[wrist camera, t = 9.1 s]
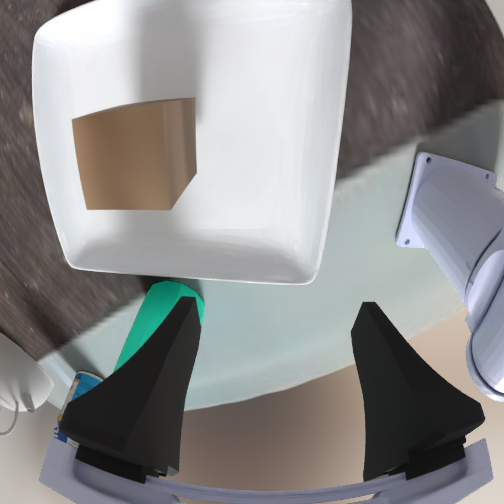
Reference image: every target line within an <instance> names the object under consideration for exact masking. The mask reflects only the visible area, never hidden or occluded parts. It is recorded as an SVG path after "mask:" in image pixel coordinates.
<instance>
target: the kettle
mask: <svg viewBox="0 0 504 504" xmlns="http://www.w3.org/2000/svg"><path fill="white" fill-rule="evenodd" d="M53 386H54V382H53V380H52V379H51V377H50V376H49V375H48V373H47V372H46V371H45V370H44V369H43V368H42V367H41V366H40V365H39V364H38V363H37V362H36V361H35V360H34V359H33V358H32V357H30V356H29V355H28V354H27V353H26V352H25V351H24V350H22V349H21V348H20V347H19V346H18V345H17V344H15V343H14V342H13V341H11V340H10V339H9V338H8V337H6V336H5V335H3V334H2V333H0V404H1V405H3V406H4V407H6V408H9V409H11V410H14V411H15V419H14V421H13V424H12V426H11V427H10V429H9V430H8V431H6V432H4V433H0V436H6V435H9V434H10V433H11V432H12V431H13V430H14V428H15V426H16V423H17V420H18V412H19V411H29V412H31V413H35V412H36V410H35V408H37V407H39V406H40V405H41V404H43V403H44V402H45V400H46V399H47V397H48V396H49V394H50V392H51V390H52V388H53Z"/></svg>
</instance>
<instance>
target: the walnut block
mask: <svg viewBox="0 0 504 504" xmlns="http://www.w3.org/2000/svg"><path fill="white" fill-rule="evenodd" d="M72 129H73V137H74V145H75V152H76V158H77V164H78V170H79V176H80V181H81V186H82V191H83V195H84V200H85V204H86V208H87V210H171V209H172V208H173V206H174V205H175V203H176V202H177V200H178V199H179V197H180V196H181V195H182V193H183V192H184V190H185V189H186V187H187V186H188V185H189V183H190V182H191V181H192V179H193V178H194V176H195V175H196V174H197V160H196V116H195V97H192V98H177V99H165V100H155V101H146V102H139V103H132V104H125V105H120V106H116V107H112V108H108V109H104V110H101V111H97V112H94V113H90V114H87V115H84V116H80V117H77V118H74V119H72Z"/></svg>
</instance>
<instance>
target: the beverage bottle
mask: <svg viewBox="0 0 504 504" xmlns="http://www.w3.org/2000/svg"><path fill="white" fill-rule="evenodd" d="M102 381H103V379H102V378H100V377H98V376H96V375H94V374H92V373H89V372H85V371H79V372H77V374H76V376H75V379H74V381H73V383H72V386H71V388H70V390H69V393H68V395H67V398H66V400H65V403H64V405H63V408H62V410H61V413H60V414H59V416H58V426H57V427H56V428H55V429H54V438H56V439H58V440H60V441H62V442H64V443H66V444H68V445H70V446H73V447H74V448H76V449H78V446H79V444H78V443H76V442H75V441H73V440H72V439H70V438H69V437H67V436H66V435H64V434H63V433H61V432H60V431H59V429H58V427H59V424H60V421H61V419H62V416H63V413H64V410H65V408H66V406H67V404H68V402H70V401H72V400H74V399H76V398H77V397H79V396H81V395H82V394H84V393H86V392H88V391H89V390H91V389H92V388H94V387H95V386H96V385H98V384H99V383H101V382H102Z"/></svg>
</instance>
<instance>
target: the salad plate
mask: <svg viewBox="0 0 504 504" xmlns="http://www.w3.org/2000/svg"><path fill="white" fill-rule="evenodd" d="M351 32H352V3H351V0H94V1H91V2H89V3H86V4H83V5H81V6H78V7H76V8H74V9H71V10H69V11H67V12H64V13H62V14H60V15H58V16H56V17H54V18H52V19H51V20H49V21H48V22H46V23H45V24H44V25H42V26H41V27H40V28H39V30H38V31H37V33H36V35H35V38H34V44H33V56H32V97H33V113H34V123H35V132H36V141H37V148H38V154H39V160H40V165H41V171H42V176H43V181H44V186H45V190H46V194H47V198H48V202H49V206H50V210H51V214H52V217H53V221H54V224H55V228H56V231H57V234H58V237H59V240H60V243H61V246H62V249H63V252H64V255H65V257H66V260H67V262H68V263H69V265H70V266H71V267H73V268H75V269H80V270H89V271H100V272H112V273H124V274H135V275H149V276H163V277H178V278H193V279H205V280H219V281H233V282H245V283H260V284H278V285H305V284H309V283H311V282H312V281H313V280H314V279H315V277H316V275H317V273H318V270H319V267H320V264H321V260H322V256H323V252H324V247H325V242H326V236H327V231H328V225H329V218H330V212H331V206H332V199H333V192H334V184H335V178H336V170H337V161H338V153H339V145H340V137H341V130H342V122H343V114H344V106H345V98H346V87H347V78H348V70H349V58H350V46H351ZM192 97H195V116H196V160H197V174H196V175H195V176H194V178H193V179H192V181H191V182H190V183H189V185H188V186H187V187H186V189H185V190H184V192H183V193H182V195H181V196H180V197H179V199H178V200H177V202H176V203H175V205H174V206H173V208H172V209H171V210H87V208H86V204H85V200H84V195H83V191H82V186H81V181H80V176H79V170H78V164H77V158H76V152H75V145H74V137H73V129H72V119H74V118H77V117H80V116H84V115H87V114H90V113H94V112H97V111H101V110H104V109H108V108H112V107H116V106H120V105H125V104H132V103H139V102H146V101H155V100H165V99H177V98H192Z"/></svg>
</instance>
